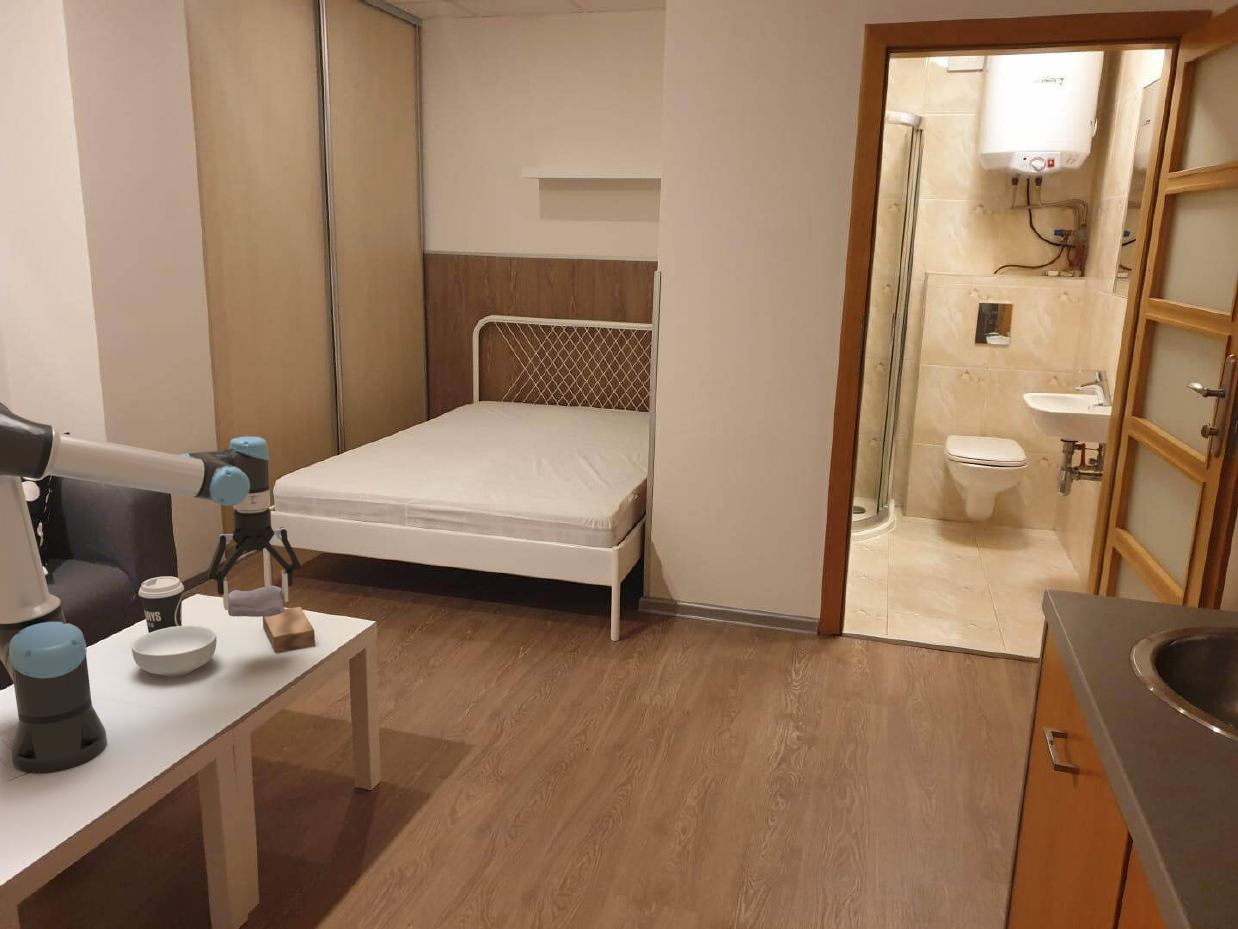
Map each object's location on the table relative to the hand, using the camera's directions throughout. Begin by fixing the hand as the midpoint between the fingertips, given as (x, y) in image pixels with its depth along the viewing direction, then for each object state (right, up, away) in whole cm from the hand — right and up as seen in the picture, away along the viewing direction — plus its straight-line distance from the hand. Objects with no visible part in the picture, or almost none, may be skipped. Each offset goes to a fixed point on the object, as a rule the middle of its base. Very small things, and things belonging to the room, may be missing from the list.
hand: (256, 604), depth 210 cm
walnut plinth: (+1, -11, +18) cm, 21 cm away
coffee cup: (-26, -11, +14) cm, 32 cm away
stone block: (0, -2, +1) cm, 2 cm away
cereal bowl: (-18, -15, +1) cm, 23 cm away
